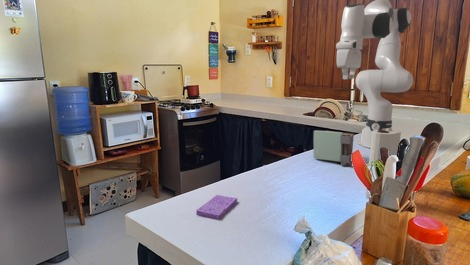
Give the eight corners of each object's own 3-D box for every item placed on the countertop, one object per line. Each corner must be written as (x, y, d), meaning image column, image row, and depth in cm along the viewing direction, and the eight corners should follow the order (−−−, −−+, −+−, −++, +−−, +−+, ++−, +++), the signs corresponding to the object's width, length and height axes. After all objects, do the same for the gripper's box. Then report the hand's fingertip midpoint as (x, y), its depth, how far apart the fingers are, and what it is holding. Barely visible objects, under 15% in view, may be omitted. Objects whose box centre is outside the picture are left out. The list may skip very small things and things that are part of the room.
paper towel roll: (363, 198, 98) (369, 131, 93) (369, 192, 102) (375, 128, 98) (387, 205, 93) (395, 134, 89) (393, 198, 98) (401, 131, 93)
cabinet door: (316, 156, 140) (316, 130, 138) (352, 161, 131) (352, 132, 129) (312, 158, 137) (312, 131, 135) (349, 163, 128) (349, 134, 126)
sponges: (196, 216, 87) (195, 209, 86) (216, 199, 98) (216, 193, 97) (218, 221, 84) (218, 214, 83) (237, 203, 95) (237, 197, 95)
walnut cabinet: (325, 153, 149) (326, 126, 146) (359, 159, 139) (361, 130, 137) (312, 160, 138) (313, 131, 135) (348, 167, 128) (351, 136, 126)
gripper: (351, 46, 140) (348, 78, 143) (334, 44, 124) (332, 79, 127) (366, 46, 136) (363, 78, 139) (350, 43, 120) (347, 79, 123)
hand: (348, 79), depth 133 cm, fingers open, 6 cm apart
